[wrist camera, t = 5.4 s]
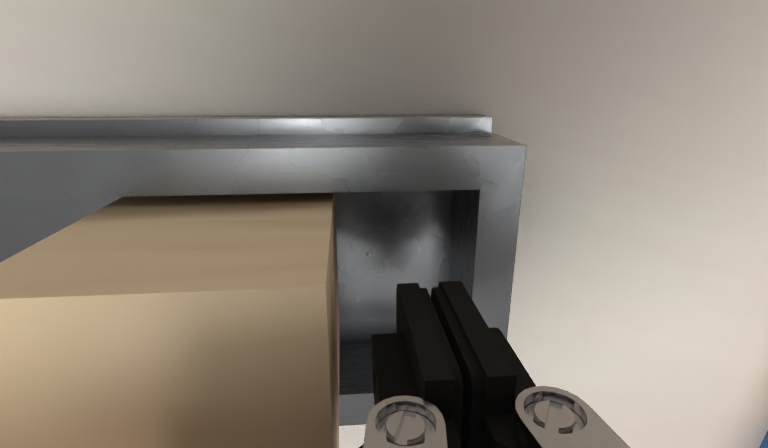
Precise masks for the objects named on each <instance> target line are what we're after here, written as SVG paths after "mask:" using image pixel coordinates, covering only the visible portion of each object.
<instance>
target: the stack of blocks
mask: <svg viewBox="0 0 768 448" xmlns="http://www.w3.org/2000/svg"><path fill="white" fill-rule="evenodd" d="M760 448H768V432H767V434H766V436H765V438H764V440H763V442H762V445H761V446H760Z"/></svg>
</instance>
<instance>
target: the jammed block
mask: <svg viewBox="0 0 768 448" xmlns="http://www.w3.org/2000/svg"><path fill="white" fill-rule="evenodd" d="M339 362H340V327H339V298H338V269H337V240H336V210H335V192H332V193H282V194H232V195H182V196H132V197H121V198H119V199H117V200H116V201H114V202H112V203H110V204H108V205H106V206H104V207H103V208H101V209H99V210H97V211H95V212H93V213H91V214H90V215H88V216H86V217H84V218H82V219H80V220H78V221H77V222H75V223H73V224H71V225H69V226H67V227H65V228H64V229H62V230H60V231H58V232H56V233H54V234H52V235H50V236H49V237H47V238H45V239H43V240H41V241H39V242H37V243H36V244H34V245H32V246H30V247H28V248H26V249H24V250H23V251H21V252H19V253H17V254H15V255H13V256H11V257H10V258H8V259H6V260H4V261H2V262H0V448H339Z"/></svg>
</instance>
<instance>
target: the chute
mask: <svg viewBox="0 0 768 448" xmlns="http://www.w3.org/2000/svg"><path fill="white" fill-rule="evenodd" d="M491 130H492V117H489V116H485V115H419V116H238V117H57V118H0V262H2V261H4V260H6V259H8V258H10V257H11V256H13V255H15V254H17V253H19V252H21V251H23V250H24V249H26V248H28V247H30V246H32V245H34V244H36V243H37V242H39V241H41V240H43V239H45V238H47V237H49V236H50V235H52V234H54V233H56V232H58V231H60V230H62V229H64V228H65V227H67V226H69V225H71V224H73V223H75V222H77V221H78V220H80V219H82V218H84V217H86V216H88V215H90V214H91V213H93V212H95V211H97V210H99V209H101V208H103V207H104V206H106V205H108V204H110V203H112V202H114V201H116V200H117V199H119V198H121V197H132V196H182V195H232V194H282V193H332V192H335V210H336V240H337V269H338V298H339V327H340V362H339V426H344V425H360V424H366V421H367V418H368V415H369V412H370V411H371V410H372V409H373V408H374V406H375V404H374V394H373V379H372V348H371V337H372V334H389V333H396V288H397V284H402V283H418V284H419V286H420V288H427V290H428V293H429V295H430V297H431V289H432V287H438V284H439V282H444V281H461V282H462V283H463V285H464V287H465V289H466V290H467V292H468V294H469V295H470V297H471V299H472V300H473V302H474V304H475V305H476V307H477V309H478V310H479V312H480V314H481V315H482V317H483V319H484V320H485V322H486V324H487V326H488V327H489V328H494V327H496V328H499V329H500V330H501V332H502V333H503V335H504V336H505V338H506V340H507V331H508V321H509V312H510V302H511V292H512V282H513V272H514V262H515V253H516V243H517V233H518V223H519V213H520V203H521V193H522V184H523V174H524V164H525V154H526V145H523V144H521V143H518V142H515V141H512V140H510V139H507V138H504V137H501V136H499V135H496V134H493V133H491Z"/></svg>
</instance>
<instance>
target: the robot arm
mask: <svg viewBox="0 0 768 448" xmlns="http://www.w3.org/2000/svg"><path fill="white" fill-rule="evenodd" d="M371 348H372V379H373V394H374V404H375V406H374V408H373V409H372V410H371V411H370V412H369V415H368V418H367V421H366V429H365V437H364V444H363V445H362V446H360V447H359V448H630V447H629V446H628V445H627V444H626V443H625V442H624V441H623V440H622V439H621V438H620V437H619V436H618V435H617V434H616V433H615V432H614V431H613V430H612V429H611V428H610V427H609V426H608V425H607V424H606V423H605V422H604V421H603V419H602V418H601V417H600V416H599V415H598V414H597V413H596V412H595V411H594V410H593V409H592V408H591V407H590V406H589V405H588V404H587V403H585V402H584V401H583V400H582V399H580V398H579V397H578V396H576V395H574V394H572V393H570V392H568V391H565V390H562V389H559V388H556V387H548V386H536V385H535V384H534V382H533V381H532V379H531V377H530V376H529V374H528V373H527V371H526V370H525V368H524V366H523V365H522V363H521V362H520V360H519V359H518V357H517V355H516V354H515V352H514V351H513V349H512V347H511V346H510V344H509V343H508V341H507V340H506V338H505V336H504V335H503V333H502V332H501V330H500V329H499V328H496V327H494V328H489V327H488V326H487V324H486V322H485V320H484V319H483V317H482V315H481V314H480V312H479V310H478V309H477V307H476V305H475V304H474V302H473V300H472V299H471V297H470V295H469V294H468V292H467V290H466V289H465V287H464V285H463V283H462V282H461V281H444V282H439V284H438V287H432V289H431V297H430V295H429V293H428V290H427V288H420V286H419V284H418V283H402V284H397V288H396V333H389V334H372V337H371Z"/></svg>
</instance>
